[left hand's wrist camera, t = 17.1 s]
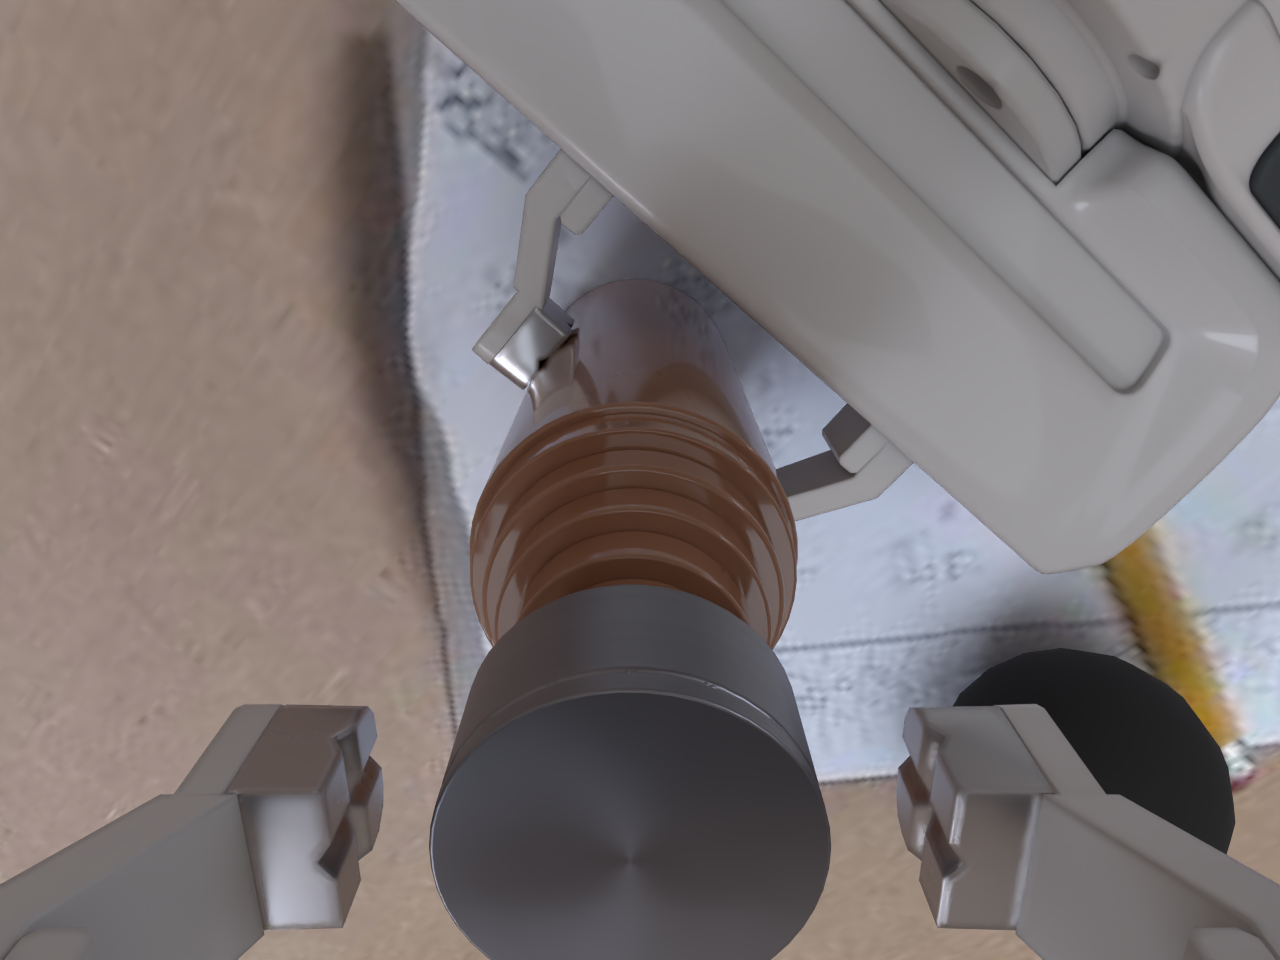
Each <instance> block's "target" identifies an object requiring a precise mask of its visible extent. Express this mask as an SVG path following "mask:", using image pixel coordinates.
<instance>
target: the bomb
mask: <svg viewBox="0 0 1280 960" xmlns="http://www.w3.org/2000/svg"><path fill="white" fill-rule="evenodd" d="M1016 704H1037V705H1039V706H1041V707H1043V708H1044V709H1045V710H1046V711H1047V713H1048V714H1049V716H1050V717H1051V718H1052V720H1053V721H1054V722H1055V724H1056V725H1057V727H1058V728H1059V729H1060V731H1061V732H1062V734H1063V735H1064V736H1065V738H1066V739H1067V741H1068V742H1069V743H1070V745H1071V746H1072V747H1073V749H1074V750H1075V752H1076V753H1077V754H1078V756H1079V757H1080V759H1081V760H1082V761H1083V763H1084V764H1085V765H1086V767H1087V768H1088V770H1089V771H1090V772H1091V774H1092V775H1093V777H1094V778H1095V779H1096V781H1097V782H1098V784H1099V785H1100V786H1101V788H1102V789H1103V790H1104V792H1105V793H1106V794H1109V795H1121V796H1123V797H1125V798H1127V799H1128V800H1130V801H1132V802H1134V803H1136V804H1137V805H1139V806H1141V807H1143V808H1144V809H1146V810H1148V811H1150V812H1151V813H1153V814H1155V815H1157V816H1159V817H1160V818H1162V819H1164V820H1166V821H1167V822H1169V823H1171V824H1173V825H1175V826H1176V827H1178V828H1180V829H1182V830H1183V831H1185V832H1187V833H1189V834H1190V835H1192V836H1194V837H1196V838H1198V839H1199V840H1201V841H1203V842H1205V843H1206V844H1208V845H1210V846H1212V847H1214V848H1215V849H1217V850H1219V851H1221V852H1222V853H1224V854H1227V851H1228V848H1229V844H1230V841H1231V837H1232V833H1233V830H1234V826H1235V814H1234V803H1233V797H1232V790H1231V784H1230V777H1229V770H1228V766H1227V764H1226V761H1225V759H1224V757H1223V754H1222V752H1221V749H1220V747H1219V745H1218V744H1217V743H1216V741H1215V740H1214V739H1213V737H1212V736H1211V734H1210V733H1209V732H1208V730H1207V729H1206V728H1205V726H1204V725H1203V723H1202V722H1201V721H1200V719H1199V718H1198V717H1197V715H1196V714H1195V713H1194V711H1193V710H1192V709H1191V707H1190V706H1189V705H1188V703H1187V702H1186V701H1185V699H1184V698H1183V697H1182V696H1181V695H1179V694H1178V693H1177V692H1176V691H1174V690H1173V689H1172V688H1171V687H1169V686H1168V685H1167V684H1165V683H1164V682H1162V681H1160V680H1158V679H1157V678H1155V677H1153V676H1151V675H1150V674H1148V673H1146V672H1144V671H1142V670H1141V669H1139V668H1137V667H1135V666H1134V665H1132V664H1130V663H1128V662H1125V661H1123V660H1121V659H1119V658H1117V657H1114V656H1109V655H1103V654H1097V653H1090V652H1084V651H1078V650H1071V649H1064V648H1058V649H1051V650H1045V651H1038V652H1031V653H1024V654H1021V655H1019V656H1017V657H1015V658H1012V659H1010V660H1008V661H1006V662H1004V663H1001V664H999V665H997V666H995V667H993V668H990V669H988V670H987V671H986V672H985V673H983V674H982V675H981V676H980V677H979V678H978V679H977V680H975V681H974V682H973V683H972V684H971V685H970V686H969V687H967V688H966V689H965V690H964V691H963V692H962V693H961V694H960V695H959V697H958V698H957V700H956V702H955V704H954V705H953V707H974V706H994V705H1016Z"/></svg>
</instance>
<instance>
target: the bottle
mask: <svg viewBox="0 0 1280 960" xmlns="http://www.w3.org/2000/svg"><path fill="white" fill-rule="evenodd" d="M566 313H567V314H569V315H570V316H571V317H572V318H573V319H574V320H575V321H574V324H573V326H572V328H571V329H572V330H571V333H570V335H569V337H568V338H567V339H566V340H565V342H564V343H563V344H562V345H561V346H560V348H559V349H558V350H557V351H556V352H555V353H554V354H553V355H552V356H551V357H549V358H548V359H544V360H542V363H541V366H540V368H539V370H538V372H537V373H536V375H535V377H534V378H533V380H532V381H531V383H530V385H529V387H528V389H527V392H526V394H525V396H524V399H523V401H522V403H521V405H520V408H519V410H518V412H517V415H516V417H515V419H514V421H513V424H512V426H511V428H510V431H509V433H508V435H507V437H506V440H505V442H504V444H503V447H502V449H501V451H500V453H499V456H498V458H497V460H496V463H495V465H494V467H493V469H492V472H491V474H490V476H489V479H488V481H487V483H486V485H485V488H484V490H483V492H482V495H481V497H480V499H479V501H478V504H477V507H476V511H475V514H474V518H473V522H472V528H471V536H470V583H471V590H472V597H473V603H474V606H475V609H476V612H477V616H478V619H479V622H480V624H481V626H482V628H483V630H484V632H485V634H486V637H487V639H488V640H489V642H490V643H491V645H492V647H494V645H495V644H496V643H497V642H498V641H499V639H500V638H501V637H502V636H503V635H504V634H505V633H506V632H507V631H509V630H510V629H511V628H512V627H513V626H514V625H515V624H516V623H517V622H519V621H520V620H522V619H523V618H525V617H526V616H528V615H529V614H530V613H532V612H533V611H535V610H537V609H539V608H541V607H543V606H544V605H546V604H548V603H550V602H552V601H554V600H556V599H559V598H561V597H563V596H567V595H569V594H573V593H575V592H579V591H583V590H588V589H592V588H596V587H603V586H612V585H620V584H631V585H633V584H638V585H651V586H659V587H667V588H671V589H675V590H679V591H683V592H687V593H690V594H693V595H696V596H698V597H702V598H703V599H706V600H709V601H711V602H712V603H714V604H716V605H718V606H720V607H722V608H724V609H726V610H728V611H729V612H731V613H732V614H734V615H735V616H737V617H738V618H739V619H741V620H742V621H744V622H745V623H747V624H748V625H749V626H750V627H751V628H752V629H753V630H754V631H755V632H756V633H757V634H758V635H760V636H761V637H762V638H763V640H764V641H765V642H766V643H767V644H768V646H769V647H770V648H771V649H772V650H773V648H774V647H775V645H776V643H777V642H778V640H779V639H780V637H781V635H782V633H783V631H784V628H785V626H786V624H787V622H788V619H789V617H790V613H791V609H792V606H793V602H794V598H795V590H796V582H797V569H796V567H797V560H798V541H797V532H796V526H795V520H794V516H793V513H792V510H791V507H790V504H789V501H788V498H787V495H786V493H785V491H784V488H783V486H782V483H781V481H780V478H779V476H778V474H777V471H776V469H775V466H774V464H773V461H772V459H771V456H770V454H769V452H768V449H767V447H766V444H765V442H764V439H763V437H762V434H761V432H760V430H759V427H758V425H757V422H756V420H755V417H754V415H753V413H752V410H751V408H750V405H749V403H748V400H747V398H746V395H745V393H744V391H743V388H742V386H741V383H740V381H739V378H738V376H737V373H736V371H735V369H734V366H733V364H732V361H731V359H730V356H729V354H728V352H727V349H726V347H725V344H724V342H723V339H722V337H721V335H720V333H719V330H718V328H717V326H716V325H715V323H714V322H713V320H712V318H711V317H710V315H709V314H708V313H707V312H706V311H705V310H704V309H703V307H702V306H701V305H700V304H698V303H697V302H696V301H695V300H694V299H693V298H691V297H690V296H688V295H687V294H685V293H684V292H682V291H680V290H678V289H676V288H674V287H672V286H670V285H667V284H664V283H661V282H656V281H651V280H641V279H630V280H621V281H616V282H611V283H608V284H605V285H603V286H600V287H597V288H596V289H594V290H592V291H590V292H588V293H586V294H585V295H584V296H582V297H581V298H579V299H578V300H577V301H576V302H575V303H573V304H572V305H571V306H570V307H569V308H568V309H567V311H566Z"/></svg>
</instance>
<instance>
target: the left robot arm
mask: <svg viewBox="0 0 1280 960" xmlns="http://www.w3.org/2000/svg"><path fill="white" fill-rule="evenodd" d="M376 739H377V730H376V724H375V718H374V713H373V712H372V710H371V709H370V708H369V707H368V706H330V705H285V706H284V705H281V704H245V705H242V706H240V707H238V708H236V709H235V710H234V711H233V712H232V713H231V715H230V716H229V718H228V719H227V720H226V722H225V723H224V725H223V726H222V727H221V729H220V730H219V732H218V733H217V734H216V736H215V737H214V739H213V740H212V741H211V743H210V744H209V746H208V747H207V748H206V750H205V751H204V753H203V754H202V755H201V757H200V758H199V760H198V761H197V762H196V764H195V765H194V767H193V768H192V769H191V771H190V772H189V774H188V775H187V776H186V778H185V779H184V781H183V782H182V783H181V785H180V786H179V788H178V789H177V790H176V792H175V793H174V794H171V795H159V796H157V797H155V798H153V799H152V800H150V801H148V802H146V803H144V804H143V805H141V806H139V807H137V808H136V809H134V810H132V811H130V812H128V813H127V814H125V815H123V816H121V817H120V818H118V819H116V820H114V821H112V822H111V823H109V824H107V825H105V826H104V827H102V828H100V829H98V830H96V831H95V832H93V833H91V834H89V835H88V836H86V837H84V838H82V839H80V840H79V841H77V842H75V843H73V844H72V845H70V846H68V847H66V848H64V849H63V850H61V851H59V852H57V853H56V854H54V855H52V856H50V857H48V858H47V859H45V860H43V861H41V862H40V863H38V864H36V865H34V866H32V867H31V868H29V869H27V870H25V871H23V872H22V873H20V874H18V875H16V876H15V877H13V878H11V879H9V880H7V881H6V882H4V883H2V884H0V960H238V959H239V958H240V957H241V956H242V955H243V954H244V953H245V952H246V951H247V950H248V949H249V948H250V947H252V946H253V945H254V944H255V943H256V942H257V941H258V940H259V939H260V938H261V937H262V936H263V935H264V930H288V929H322V928H343V926H344V923H345V920H346V918H347V915H348V913H349V910H350V907H351V905H352V902H353V899H354V897H355V894H356V892H357V889H358V886H359V884H360V881H361V878H360V870H359V862H358V861H359V860H360V859H361V858H362V857H364V856H365V855H366V854H368V853H369V852H370V851H371V850H372V849H373V846H374V843H375V840H376V838H377V835H378V832H379V828H380V822H381V816H382V810H383V777H382V768H381V767H380V766H379V765H378V764H377V763H376V762H375V761H374V759H373V758H372V757H371V756H370V753H371V751H372V748H373V746H374V744H375V741H376ZM903 739H904V741H905V744H906V746H907V748H908V751H909V753H910V756H909V757H908V758H907V759H906V761H905V762H904V763H903V764H902V765H901V766H900V767H899V768H898V779H897V790H896V794H897V810H898V818H899V823H900V827H901V832H902V835H903V838H904V841H905V843H906V846H907V849H908V850H909V851H910V852H911V853H912V854H914V855H915V856H916V857H918V858H919V859H920V860H921V861H922V862H921V870H920V877H919V881H920V884H921V886H922V889H923V892H924V894H925V897H926V899H927V902H928V905H929V907H930V910H931V912H932V915H933V918H934V920H935V923H936V925H937V928H956V929H991V930H1016V933H1015V934H1016V935H1017V936H1018V937H1019V938H1020V939H1021V940H1023V941H1024V942H1025V943H1026V944H1027V945H1028V946H1029V947H1030V948H1031V949H1032V950H1033V951H1034V952H1035V953H1036V954H1038V955H1039V956H1040V957H1041V958H1042V959H1043V960H1280V885H1279V884H1277V883H1276V882H1274V881H1272V880H1270V879H1268V878H1267V877H1265V876H1263V875H1261V874H1260V873H1258V872H1256V871H1254V870H1253V869H1251V868H1249V867H1247V866H1245V865H1244V864H1242V863H1240V862H1238V861H1237V860H1235V859H1233V858H1231V857H1229V856H1228V855H1226V854H1224V853H1222V852H1221V851H1219V850H1217V849H1215V848H1214V847H1212V846H1210V845H1208V844H1206V843H1205V842H1203V841H1201V840H1199V839H1198V838H1196V837H1194V836H1192V835H1190V834H1189V833H1187V832H1185V831H1183V830H1182V829H1180V828H1178V827H1176V826H1175V825H1173V824H1171V823H1169V822H1167V821H1166V820H1164V819H1162V818H1160V817H1159V816H1157V815H1155V814H1153V813H1151V812H1150V811H1148V810H1146V809H1144V808H1143V807H1141V806H1139V805H1137V804H1136V803H1134V802H1132V801H1130V800H1128V799H1127V798H1125V797H1123V796H1121V795H1109V794H1106V793H1105V792H1104V790H1103V789H1102V788H1101V786H1100V785H1099V784H1098V782H1097V781H1096V779H1095V778H1094V777H1093V775H1092V774H1091V772H1090V771H1089V770H1088V768H1087V767H1086V765H1085V764H1084V763H1083V761H1082V760H1081V759H1080V757H1079V756H1078V754H1077V753H1076V752H1075V750H1074V749H1073V747H1072V746H1071V745H1070V743H1069V742H1068V741H1067V739H1066V738H1065V736H1064V735H1063V734H1062V732H1061V731H1060V729H1059V728H1058V727H1057V725H1056V724H1055V722H1054V721H1053V720H1052V718H1051V717H1050V716H1049V714H1048V713H1047V711H1046V710H1045V709H1044V708H1043V707H1041V706H1039V705H1037V704H1016V705H994V706H974V707H909V709H908V712H907V715H906V717H905V722H904V729H903Z"/></svg>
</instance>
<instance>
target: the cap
mask: <svg viewBox="0 0 1280 960" xmlns="http://www.w3.org/2000/svg"><path fill="white" fill-rule="evenodd" d="M429 851H430V861H431V869H432V872H433V876H434V880H435V883H436V887H437V890H438V892H439V895H440V897H441V899H442V901H443V904H444V906H445V908H446V910H447V911H448V913H449V914H450V916H451V918H452V919H453V921H454V922H455V924H456V925H457V927H458V928H459V929H460V930H461V931H462V933H463V934H464V935H465V936H466V937H467V938H468V940H469V941H470V942H471V943H472V944H473V945H474V946H475V947H477V948H478V949H479V950H480V951H481V952H482V953H483V954H484V955H485V956H486V957H488V958H489V959H490V960H771V959H772V958H773V957H774V956H776V955H777V954H778V953H779V952H780V951H781V950H782V949H783V948H784V947H786V946H787V945H788V944H789V943H790V942H791V940H792V939H793V938H794V937H795V936H796V935H797V934H798V932H799V931H800V930H801V929H802V928H803V926H804V925H805V923H806V922H807V920H808V919H809V917H810V915H811V914H812V912H813V911H814V909H815V907H816V905H817V903H818V900H819V898H820V896H821V894H822V891H823V889H824V885H825V881H826V878H827V874H828V870H829V863H830V854H831V839H830V826H829V822H828V818H827V813H826V809H825V805H824V802H823V798H822V794H821V791H820V788H819V784H818V780H817V776H816V773H815V769H814V765H813V762H812V758H811V755H810V751H809V747H808V744H807V740H806V737H805V733H804V729H803V726H802V722H801V719H800V715H799V711H798V708H797V704H796V700H795V697H794V693H793V690H792V687H791V684H790V682H789V679H788V677H787V674H786V672H785V670H784V668H783V666H782V665H781V663H780V661H779V660H778V658H777V656H776V655H775V653H774V652H773V651H772V649H771V648H770V647H769V646H768V644H767V643H766V642H765V641H764V640H763V638H762V637H761V636H760V635H758V634H757V633H756V632H755V631H754V630H753V629H752V628H751V627H750V626H749V625H748V624H747V623H745V622H744V621H742V620H741V619H739V618H738V617H737V616H735V615H734V614H732V613H731V612H729V611H728V610H726V609H724V608H722V607H720V606H718V605H716V604H714V603H712V602H711V601H709V600H706V599H703V598H702V597H698V596H696V595H693V594H690V593H687V592H683V591H679V590H675V589H671V588H667V587H659V586H651V585H638V584H633V585H631V584H620V585H612V586H603V587H596V588H592V589H588V590H583V591H579V592H575V593H573V594H569V595H567V596H563V597H561V598H559V599H556V600H554V601H552V602H550V603H548V604H546V605H544V606H543V607H541V608H539V609H537V610H535V611H533V612H532V613H530V614H529V615H528V616H526V617H525V618H523V619H522V620H520V621H519V622H517V623H516V624H515V625H514V626H513V627H512V628H511V629H510V630H509V631H507V632H506V633H505V634H504V635H503V636H502V637H501V638H500V639H499V641H498V642H497V643H496V644H495V645H494V647H493V648H492V649H491V650H490V652H489V653H488V655H487V656H486V658H485V660H484V661H483V663H482V664H481V666H480V668H479V670H478V672H477V674H476V677H475V679H474V682H473V684H472V687H471V690H470V693H469V696H468V700H467V703H466V706H465V710H464V713H463V716H462V719H461V723H460V726H459V729H458V733H457V736H456V739H455V743H454V746H453V749H452V752H451V756H450V759H449V762H448V766H447V769H446V772H445V775H444V779H443V782H442V786H441V789H440V792H439V795H438V798H437V802H436V805H435V809H434V813H433V818H432V822H431V826H430V841H429Z"/></svg>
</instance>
